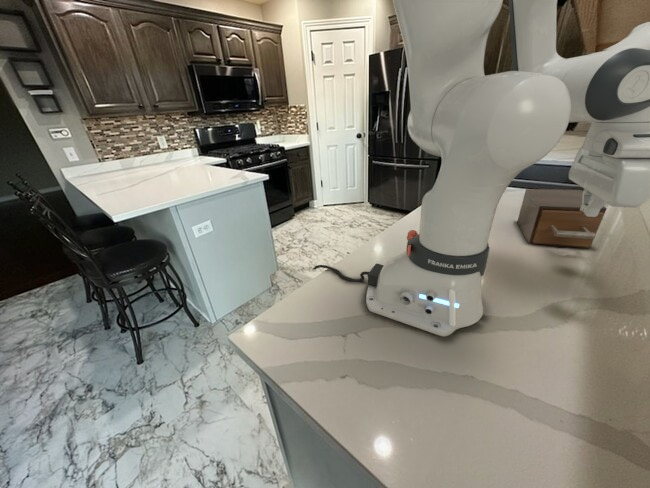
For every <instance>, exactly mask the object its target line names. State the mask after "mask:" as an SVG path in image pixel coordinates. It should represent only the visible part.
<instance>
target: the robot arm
mask: <svg viewBox="0 0 650 488" xmlns="http://www.w3.org/2000/svg"><path fill="white" fill-rule="evenodd" d="M503 2H504V0H392V3H393V7H394V11H395V15H396V19H397V23H398V27H399V31H400V35H401V38H402V43H403V47H404V52H405V53H404V54H405V58H406V66H407V76H408V88H409V89H408V90H409V104H410V110H409V113H408V117H407V131H408V135H409V137H410V138H411V140H412V141H413V143H415V145H416V146H417V147H419V148H420V149H421V150H422V151H424V152H425V153H427V154H429V155H432V156H435V157H440V159H441V164H440V168H439V171H438V173H437V177H436V179H435V182H434V184H433V186H432V188H431V189H429V190H428V191H427V192H425V193H424V195H423V197H422V200H421V205H420V206H421V207H420V219H419V230H418V231H419V233H418V232H417V230H415V229H410V230H409V231H408V232H407V236H406V240H407V243H406V251H403V252H402V253H400V254H398V255H395V256H393V257H391V258H389V259H388V260H386V261H385V263H384V264H381V263H378V262H377V263H375V264H374V265H373V267H372V268H371V269H370V271H362V272H360V275H359V276H360V278H352V277H349V276H346V275H344V274H343V273H342V272H341V271H340V270H338V269H336V268H335V267H332V266H329V265H325V264H318V265H314V267H313V268H312V269H313V270H317V269H319V268H320V269H321V268H323V269H327V270H330V271H333V272H334V273H337V274H338V276H339V277H340V278H342V279H343V280H346V281H349V282H351V283H352V282H353V283H361V282H363V281H364V280H365V276H366V275H367V285H368V287H367V290H366V296H365V297H366V298H365V303H366V307H367V309H368V310H369V312H371V313H374V314H376V315H379V316H382V317H384V318H388V319H391V320H394V321H396V322H400V323H402V324H405V325H408V326H410V327H413V328H416V329H419V330H422V331H426V332H428V333H431V334H434V335H437V336H439V337H448V336H450V335H452V334H453V333H454V332H456V331H457V330H459V329H463V328H466V327H470V326H473V325H475V324H476V323H478V322H479V321H480V320H481V318H482V317H483V314H484V305H483V299H482V280H483V279H482V278H483V276H484V275H485V272H486V270H487V266H488V262H489V257H490V245H489V244H490V243H489V238H490V234H491V231H492V227H493V223H494V218H495V215H496V211H497V209H498V206H499V203H500V200H501V198H502V197H503V195H504V193H505V192H506V190H507V189H508V187H509V186H510V184H511V182H513V181H514V179H515V178H516V177H517V176H518V175H519V174H521V172H522V171H524V170H525V169H527V168H529V167H531V166H533V165H535V164H537V163H538V162H540V161H541V160H542V159H544V158H545V157H546V156H548V154H550V153H551V152H552V151H553V149H554V148H556V146H557V145H558V143H560V141H561V140H562V139H563V136H564V134H565V132H566V131H567V128H568V126H569V123H590V125H589V127H588V130H587V133H586V135H585V138H584V140H583V144H582V145H581V146H580V148H579V149H578V151H577V153H576V155H575V157H574V160H573V161H572V164H571V166H570V169H569V171H568V180H569V181H571V182H573V183H575V184H576V185H577V186H579V187H581V188H582V189H583V190H582V191H583V193H582V205H581V208H580V211H581V212H582V213H584V214H585V215H586V216H588V217H596V216H597V215H598V214H599V211H600V209H601V208H602V207H603V206H604V207H605V206H606V205H607V204H608V205H609V206H610V207H613V208H615V207H616V208H635V209H636V208H639V207H640V206H642V205H643V204H645V203H646V202H647V201H648V199H649V198H650V20H649V21H645V22H642V23H640V24H638V25H636V26H635V27H634V28H632V29H631V31H630V32H629V34H628V35H627V36H626V37H625V38H624V39H623V38H622V40H620V41H619V42H617V43H615V44H613V45H610V46H609V47H607V48H604V49H602V51H598V52H592V53H589V54H585V55H579V56H574V57H569V58H568V57H567V58H565V57H562V56H561V55H559V53H558V52H557V18H558V17H557V9H558V0H508V12H509V13H508V14H509V27H510V28H509V29H510V42H511V44H510V45H511V55H512V68H513V70H509V71H502V72H498V73H491V74H485V55H486V54H485V53H486V49H487V48H486V47H487V42H488V38H489V34H490V31H491V28H492V27H493V25H494V23H495V21H496V19H497V18H498V16H499V14H500V12H501V9H502V6H503ZM364 275H365V276H364Z"/></svg>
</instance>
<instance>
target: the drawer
mask: <svg viewBox="0 0 650 488" xmlns="http://www.w3.org/2000/svg"><path fill="white" fill-rule="evenodd" d="M604 216H605V214H604V213H603V212H599V214H598V215H597V216H596V217H588V216H586V215H585V214H584V213H582V212H581V211H580V210H555V209H543V210H542V211H541V214H540V217H539V221H538V224H537V227H536V231H535V234H534V237H533V240H532V241H533V242H534V243H545V244H558V245H571V246H583V247H590V246H591V247H592V244H593V243H594V240H595V238H596V235H597V233H598V230H599V228H600V226H601V223H602V221H603V218H604ZM601 220H602V221H601ZM598 227H599V228H598ZM596 232H597V233H596ZM593 239H594V240H593ZM591 247H590V248H591Z"/></svg>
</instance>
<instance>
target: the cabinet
mask: <svg viewBox="0 0 650 488" xmlns="http://www.w3.org/2000/svg"><path fill="white" fill-rule="evenodd" d="M582 193H583V190H582V189H547V188H544V189H543V188H542V189H541V188H537V189H536V188H526V189H525V191H524V195H523V199H522V202H521V205H520V206H521V207H520V210H519V213H518V217H517V221H516V222H517V225H518V226H519V228H520V230H521V232H522V234H523V235H524V237H525V239H526V242H527V243H528V244H530V245H543V246H545V245H546V246H557V247H569V248H581V249H590V248H591V247H592V245H591V246H590V247H583V246H571V245H558V244H545V243H534V242H533V241H532V240H533V237H534V234H535V231H536V227H537V224H538V221H539V217H540V214H541V211H542V210H543V209H555V210H580V208H581V205H582ZM606 211H607V207H606V206H605V205H604V206H603V207H602V208H601V209H600V211H599V212H603V213H604V215H605V214H606ZM602 221H603V219H602V220H601V222H602ZM599 228H600V226H599V227H598V229H599ZM597 233H598V231H597V232H596V234H597ZM594 240H595V238H594V239H593V241H594Z"/></svg>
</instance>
